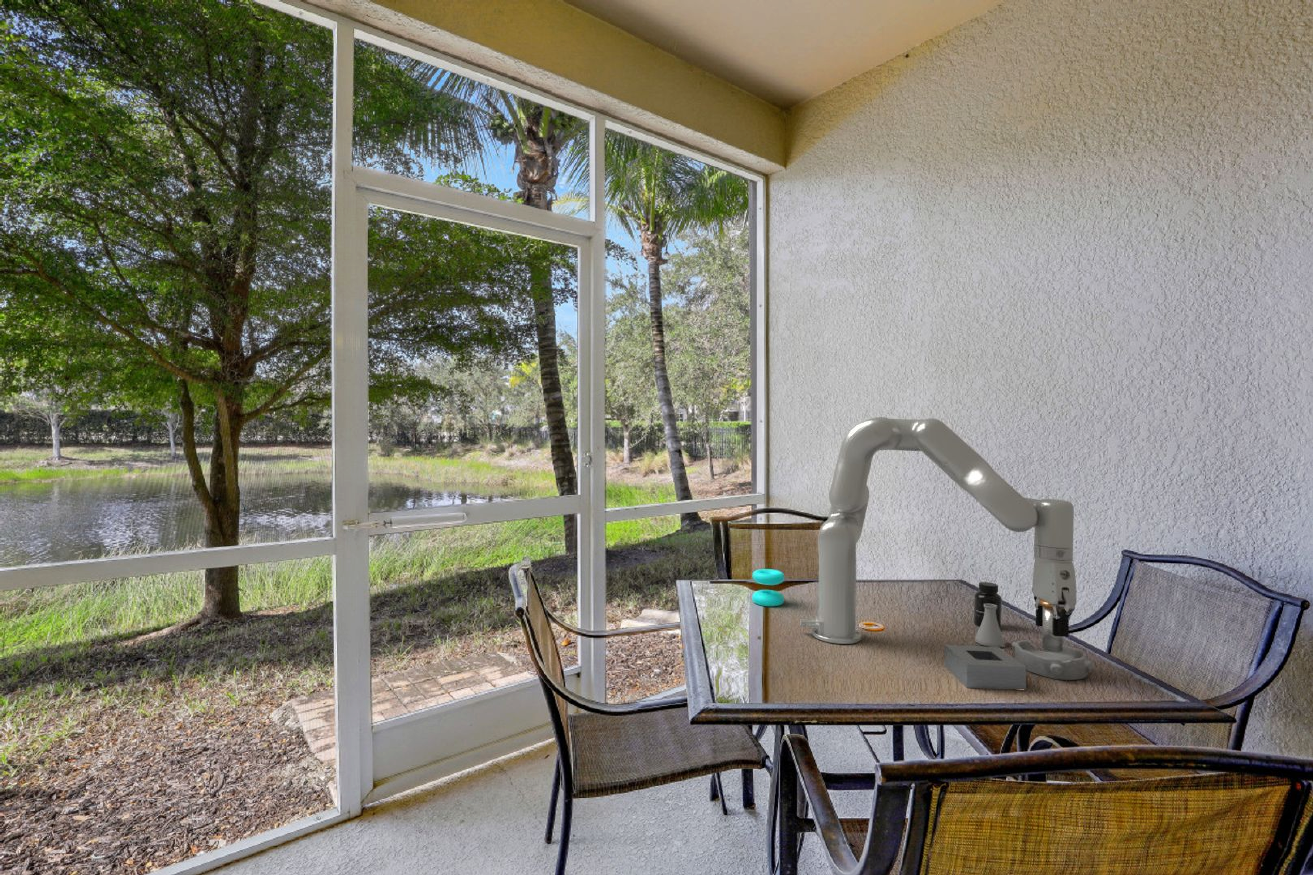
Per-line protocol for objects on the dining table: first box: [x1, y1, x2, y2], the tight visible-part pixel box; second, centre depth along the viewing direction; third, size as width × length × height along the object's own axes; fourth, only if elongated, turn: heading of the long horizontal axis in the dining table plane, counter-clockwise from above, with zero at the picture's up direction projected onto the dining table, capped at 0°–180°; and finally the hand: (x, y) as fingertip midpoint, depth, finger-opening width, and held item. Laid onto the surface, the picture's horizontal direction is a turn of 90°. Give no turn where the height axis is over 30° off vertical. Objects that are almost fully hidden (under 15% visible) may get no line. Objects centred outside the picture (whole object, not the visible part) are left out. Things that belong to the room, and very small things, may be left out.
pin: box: [1039, 599, 1064, 653], centre depth 140 cm, size 5×5×11 cm
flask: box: [974, 604, 1006, 648], centre depth 157 cm, size 7×7×10 cm
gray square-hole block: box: [944, 644, 1027, 691], centre depth 135 cm, size 12×12×5 cm
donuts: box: [751, 568, 785, 607], centre depth 192 cm, size 10×10×10 cm
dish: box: [1011, 639, 1093, 681], centre depth 140 cm, size 14×14×5 cm
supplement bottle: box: [973, 581, 1003, 629], centre depth 172 cm, size 7×7×12 cm
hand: (1051, 630), depth 140 cm, fingers open, 6 cm apart
